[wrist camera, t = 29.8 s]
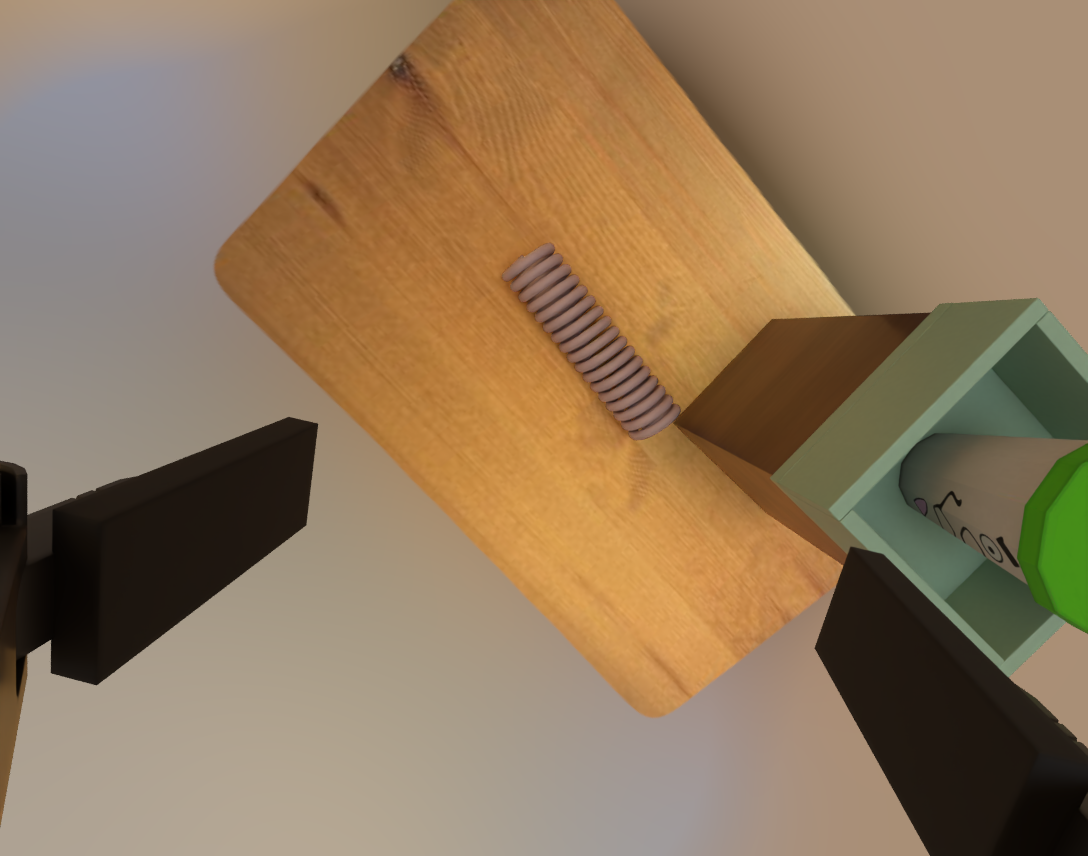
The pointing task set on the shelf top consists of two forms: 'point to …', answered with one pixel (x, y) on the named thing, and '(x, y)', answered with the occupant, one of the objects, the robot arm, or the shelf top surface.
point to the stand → (788, 401)
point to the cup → (1011, 508)
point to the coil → (560, 318)
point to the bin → (948, 408)
